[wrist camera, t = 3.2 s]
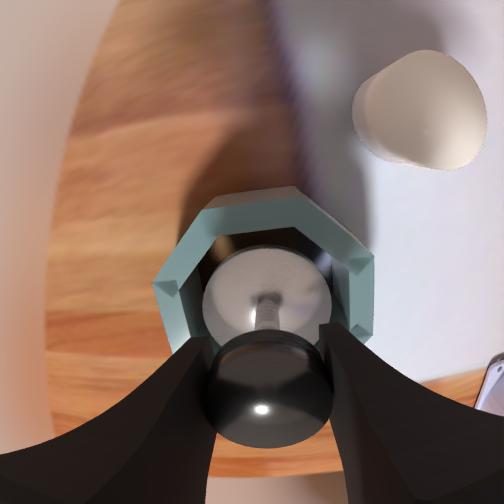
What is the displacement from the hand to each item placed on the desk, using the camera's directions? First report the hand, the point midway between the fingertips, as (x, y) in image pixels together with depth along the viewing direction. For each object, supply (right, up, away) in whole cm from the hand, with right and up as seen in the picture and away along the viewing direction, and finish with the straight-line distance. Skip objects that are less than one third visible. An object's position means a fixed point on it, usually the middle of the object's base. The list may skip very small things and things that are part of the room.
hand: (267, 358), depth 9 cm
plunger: (0, +1, +3) cm, 4 cm away
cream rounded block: (+6, +9, +3) cm, 12 cm away
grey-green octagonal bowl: (0, +2, +6) cm, 6 cm away
